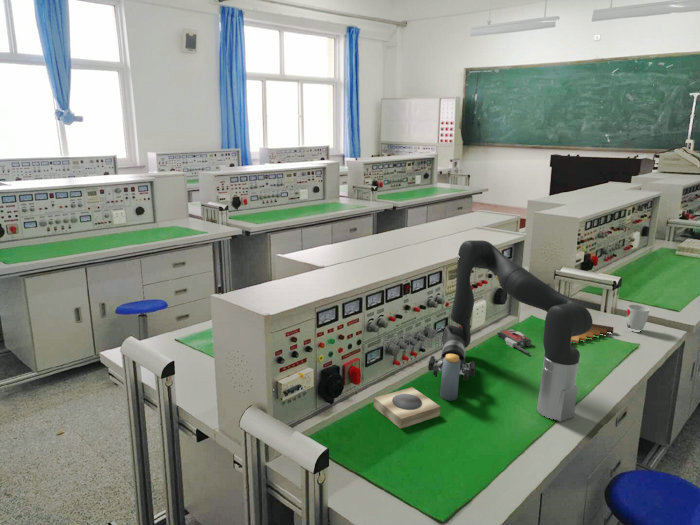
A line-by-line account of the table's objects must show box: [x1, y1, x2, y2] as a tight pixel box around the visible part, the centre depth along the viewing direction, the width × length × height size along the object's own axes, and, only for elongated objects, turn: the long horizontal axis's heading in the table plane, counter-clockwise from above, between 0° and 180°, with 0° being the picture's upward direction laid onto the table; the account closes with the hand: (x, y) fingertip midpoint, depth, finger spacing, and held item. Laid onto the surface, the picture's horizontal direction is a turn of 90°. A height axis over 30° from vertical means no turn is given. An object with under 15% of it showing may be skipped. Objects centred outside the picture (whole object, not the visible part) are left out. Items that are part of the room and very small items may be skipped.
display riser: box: [373, 386, 442, 430], centre depth 156 cm, size 13×14×3 cm
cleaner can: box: [439, 354, 461, 402], centre depth 164 cm, size 5×5×13 cm
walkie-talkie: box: [496, 328, 532, 355], centre depth 207 cm, size 9×4×20 cm
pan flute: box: [571, 323, 614, 344], centre depth 217 cm, size 25×3×25 cm
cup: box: [626, 304, 650, 331], centre depth 225 cm, size 8×8×10 cm
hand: (450, 376), depth 164 cm, fingers open, 8 cm apart
